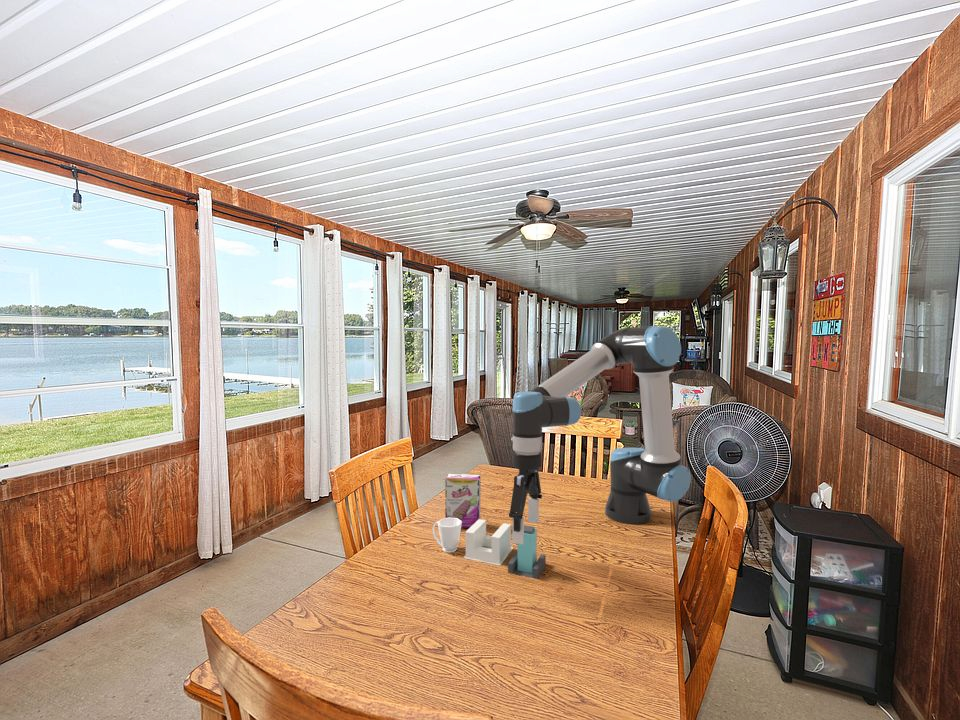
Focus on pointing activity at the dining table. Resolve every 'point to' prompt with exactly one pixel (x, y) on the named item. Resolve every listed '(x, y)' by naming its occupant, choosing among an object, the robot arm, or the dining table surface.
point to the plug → (528, 550)
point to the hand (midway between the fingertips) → (526, 532)
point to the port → (488, 543)
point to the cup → (448, 533)
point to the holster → (536, 572)
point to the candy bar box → (463, 498)
